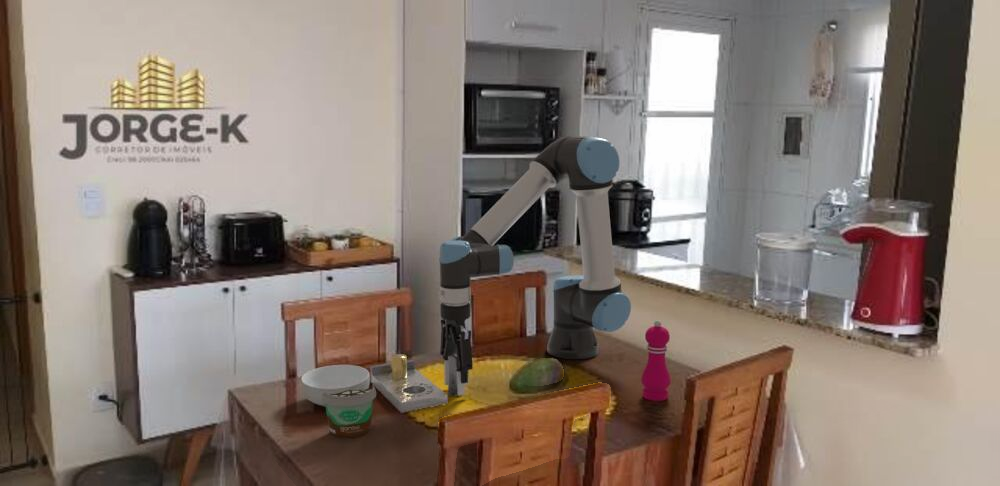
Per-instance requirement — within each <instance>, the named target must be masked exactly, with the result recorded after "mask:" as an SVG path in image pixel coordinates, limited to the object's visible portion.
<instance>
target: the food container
mask: <svg viewBox="0 0 1000 486" xmlns="http://www.w3.org/2000/svg"><path fill="white" fill-rule="evenodd" d="M376 397H377V391H376V387H375V386H374V385H373V384H372V386H371V387H369V388H368V389H364V390H347V391H343V392H340V393H336V394H327V393H325V392H324V394H323V395H322V401H323V402H324V403H325V406H326V407H325V410H326V416H327V417H326V418H327V425H328V431H329V434H330V435H331V436H333V437H335V438H339V439H357V438H361V437H363V436H365V435H367V434H369V433H370V432H371V430H372V421H373V406H374V404H373V403H374V399H375V398H376Z"/></svg>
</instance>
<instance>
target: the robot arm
mask: <svg viewBox="0 0 1000 486" xmlns="http://www.w3.org/2000/svg"><path fill="white" fill-rule="evenodd" d="M619 169H620V156H619V153H618V151H617V148H616V147H615V146H614V145H613V144H612V143H611V142H610V141H608V139H604V138H600V137H597V136H576V135H567V136H562V137H560V138H558V139H556V140H555V141H553V142H552V143H550V144H549V145H548V146H546V147H545V148H544V149H543V150H542V151H540V153H539V154H538V155H536V156H535V158H534V159H533V160H531V162H530V163H529V169H528V170H527V171H526V172H525V173H524V174H523V175H522V176H521V177H520V178H519V179H518V180H517V181H516V182H515V183H514V184H513V185H512V186H511V187H510V188H509V189H508V190H507V191H506V192H505V193H504V194H503V195H502V196H501V198H500V199H499V200H497V201H496V202H495V204H494V205H493V206H492V207H491V208H490V209H489V210H488V211H487V212H486V213H485V214H484V215H483V216H482V217H481V218H480V219H479V220H478V221H477V222H476V223H475V224H474V225H473V226H472V227H471V228H469V231H467V232H466V233H465V234H464V235H463V236H455V237H454V238H452V239H451V240H446V241H444V242H442V243H441V244H440V247H439V259H438V261H439V279H440V280H439V282H440V283H439V285H440V286H439V289H440V291H439V292H438V294H439V296H440V302H441V303H440V308H439V309H440V317H441V319H440V327H441V328H440V329H441V331H440V346H439V347H440V348H439V349H440V350H439V351H440V352H439V353H440V354H439V355H440V356H442V359H443V364H444V365H443V367H444V368H443V373H444V376H443V377H444V386H448V355H450V354H457V360H458V367H459V369H456V371H457V395H458V396H457V397H461V396H460V395H462V396H464V395H465V396H466V395H467V394H466V393H465V386H466V384H468V385H469V371H471V370H473V354H472V353H473V352H472V331H471V329H469V330H468V329H467V327H466V322H465V321H466V320H468V319H469V318H470V317H471V303H470V301H471V278H477V277H478V278H481V277H487V276H500V275H504V274H508V273H510V272H511V271H512V269H513V267H514V262H515V259H514V254H513V250H512V249H511V248H510V246H508V245H506V244H496V243H497V242H498V241H499V240H500V239H501V238H502V237H503V236H504V234H505V233H507V231H508V230H510V228H511V227H512V226H513V225H514V224H515V223H516V222H517V221H518V220H519V219H520V218H521V217H522V216H523V215H524V214H525V213H526V212H527V211H528V210H529V209H530V208H531V207H532V205H534V204H535V202H537V201H538V200H539V199H540V198H541V196H542V195H543V194H544V193H545V192H546V191H547V190H548V189H549V188H555V187H556V186H557V185H558V184H559V183H561V182H562V181H563V180H566V179H568V184H569V190H570V191H571V192H572V193H574V194H575V201H576V209H577V218H578V220H577V221H578V229H579V230H578V231H579V240H580V242H579V243H580V253H581V263H582V264H581V265H582V273H583V274H580V275H579V274H576V275H565V276H560V277H557V278H556V279H555V281H554V282H553V283H554V284H553V289H552V290H553V291H552V292H553V326H552V329H551V332H550V336H549V338H548V341H547V345H546V346H547V354H549V355H550V356H553V357H556V358H559V359H565V360H585V359H586V360H587V359H590V358H594V357H596V356H597V355H598V354H599V343H598V340H597V337H596V334H595V330H597V331H599V332H605V333H614V332H616V331H618V330H620V329H621V328H622V327H624V326H625V324H626V322H627V321H628V320H629V318H630V316H631V312H632V304H631V299H630V298H629V297H628V296H627V295H626V293H623V292H622V283H621V279H620V278H618V276H616V275H615V263H614V253H613V240H612V227H611V218H610V205H609V191H610V189H611V188H612V187H613V179H614V178H615V177H616V175H617V172H619ZM495 244H496V245H495Z"/></svg>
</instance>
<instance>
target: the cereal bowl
mask: <svg viewBox="0 0 1000 486" xmlns="http://www.w3.org/2000/svg"><path fill="white" fill-rule="evenodd" d="M300 384H301V391H302V394H303V395H304V396H305V398H306V399H307V400H308V401H310V403H313V404H315V405H318V406H321V407H324V408H326V406H325V403H324V402H323V401H322V395H323V394H324V392H325V393H327V394H336V393H340V392H343V391H347V390H364V389H369V388H370V384H371V375H370V372H369V370H367V368H364V367H362V366H358V365H353V364H333V365H326V366H321V367H317V368H314V369H311V370H309V371H307V372H305V373H304V374H303V375H302V376H301V378H300Z"/></svg>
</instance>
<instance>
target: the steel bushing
mask: <svg viewBox="0 0 1000 486" xmlns="http://www.w3.org/2000/svg"><path fill="white" fill-rule="evenodd" d="M456 369H459V367H458V360H457V354H456V353H454V354H450V355H448V385H447V387H448V388H447V389H448V395H449V396H450V395H451V397H456V396H455V395H457V371H456Z"/></svg>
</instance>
